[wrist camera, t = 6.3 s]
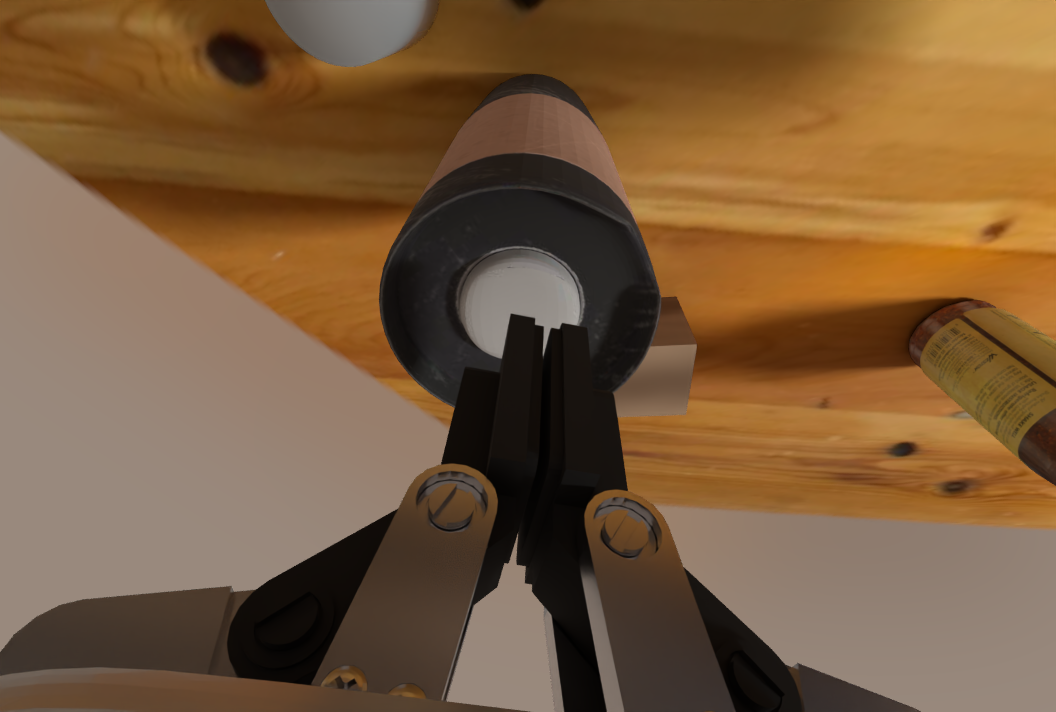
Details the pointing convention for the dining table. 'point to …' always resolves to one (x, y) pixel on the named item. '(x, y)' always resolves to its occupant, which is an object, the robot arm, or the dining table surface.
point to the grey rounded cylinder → (354, 27)
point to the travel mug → (520, 245)
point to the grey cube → (662, 369)
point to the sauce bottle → (995, 376)
